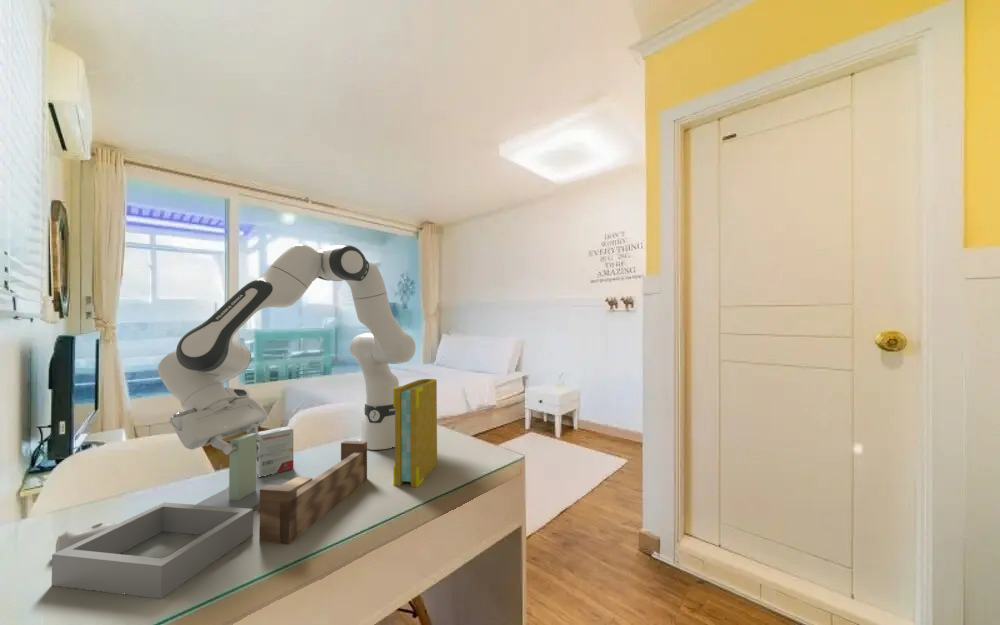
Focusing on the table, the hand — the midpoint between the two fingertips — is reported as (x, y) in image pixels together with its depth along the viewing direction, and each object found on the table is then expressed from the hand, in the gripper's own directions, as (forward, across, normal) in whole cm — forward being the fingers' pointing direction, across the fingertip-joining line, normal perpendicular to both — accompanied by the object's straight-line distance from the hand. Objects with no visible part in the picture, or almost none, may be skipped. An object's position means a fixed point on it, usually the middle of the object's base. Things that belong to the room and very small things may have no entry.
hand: (245, 446), depth 87 cm
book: (+35, +20, -17) cm, 43 cm away
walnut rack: (+23, 0, -5) cm, 24 cm away
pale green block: (+8, 0, +9) cm, 12 cm away
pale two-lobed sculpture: (-1, -20, +20) cm, 28 cm away
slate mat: (+8, 0, +9) cm, 13 cm away
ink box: (+5, +16, +13) cm, 21 cm away
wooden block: (+17, +1, +1) cm, 17 cm away
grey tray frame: (+11, -21, +7) cm, 25 cm away
